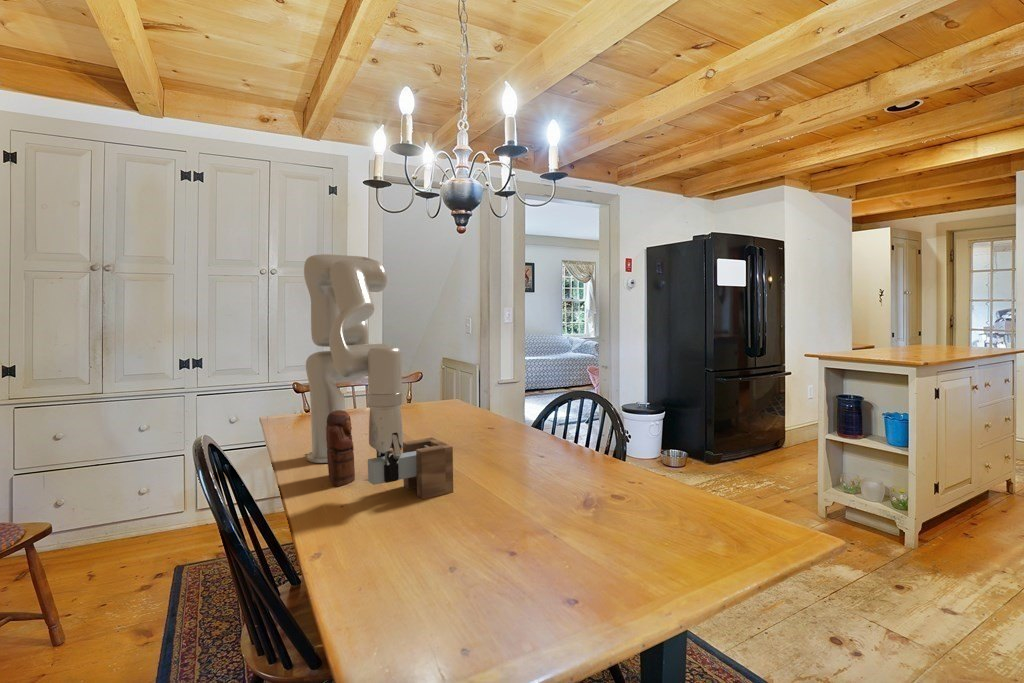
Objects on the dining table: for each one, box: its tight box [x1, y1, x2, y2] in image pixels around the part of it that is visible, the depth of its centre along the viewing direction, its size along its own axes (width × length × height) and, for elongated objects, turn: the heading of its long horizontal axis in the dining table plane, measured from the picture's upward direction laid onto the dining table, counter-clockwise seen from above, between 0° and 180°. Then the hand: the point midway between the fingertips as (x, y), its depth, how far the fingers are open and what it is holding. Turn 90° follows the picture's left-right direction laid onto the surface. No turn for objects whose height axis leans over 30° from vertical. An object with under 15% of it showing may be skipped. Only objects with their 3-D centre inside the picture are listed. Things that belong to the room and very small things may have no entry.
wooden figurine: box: [326, 410, 356, 487], centre depth 132 cm, size 12×6×18 cm, turn 25°
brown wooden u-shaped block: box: [402, 437, 454, 500], centre depth 125 cm, size 11×8×11 cm
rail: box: [367, 445, 429, 486], centre depth 121 cm, size 4×15×6 cm, turn 125°
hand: (388, 478), depth 119 cm, fingers closed on rail, 3 cm apart
